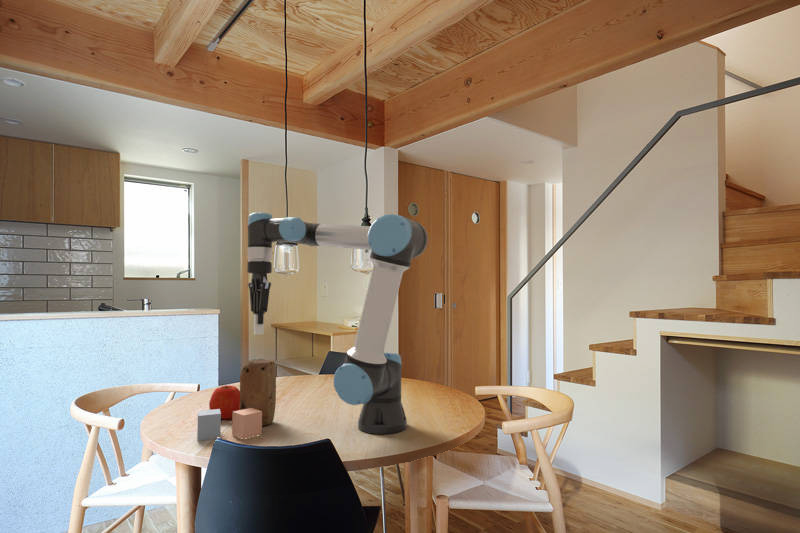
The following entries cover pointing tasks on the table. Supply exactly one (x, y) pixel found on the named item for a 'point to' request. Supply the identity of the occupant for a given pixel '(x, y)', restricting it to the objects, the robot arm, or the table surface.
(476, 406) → the table surface
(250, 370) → the brown long irregular lump
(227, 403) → the apple
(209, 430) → the slate block
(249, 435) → the terracotta block
